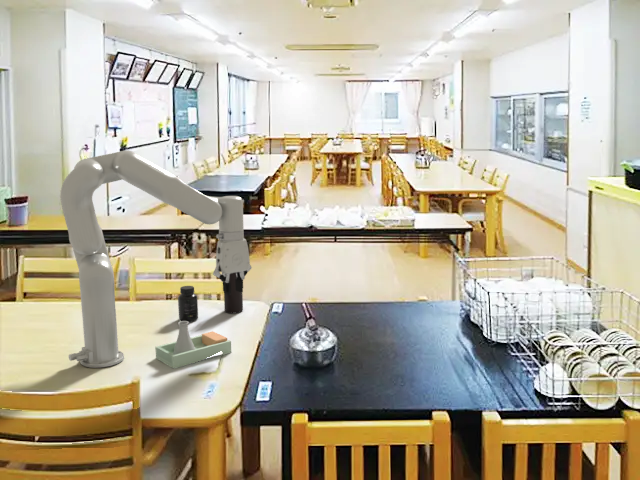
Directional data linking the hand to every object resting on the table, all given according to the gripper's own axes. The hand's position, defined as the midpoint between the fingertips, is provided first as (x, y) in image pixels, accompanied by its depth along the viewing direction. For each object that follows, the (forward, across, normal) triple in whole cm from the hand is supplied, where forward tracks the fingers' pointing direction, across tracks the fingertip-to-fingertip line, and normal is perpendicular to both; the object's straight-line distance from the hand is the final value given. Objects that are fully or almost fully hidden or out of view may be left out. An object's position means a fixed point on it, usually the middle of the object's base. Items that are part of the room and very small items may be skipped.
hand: (233, 292), depth 216 cm
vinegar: (+17, +20, +30) cm, 40 cm away
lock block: (+16, -8, 0) cm, 17 cm away
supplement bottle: (+17, +2, +32) cm, 37 cm away
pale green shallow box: (+17, -15, 0) cm, 23 cm away
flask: (+16, -18, 0) cm, 24 cm away
